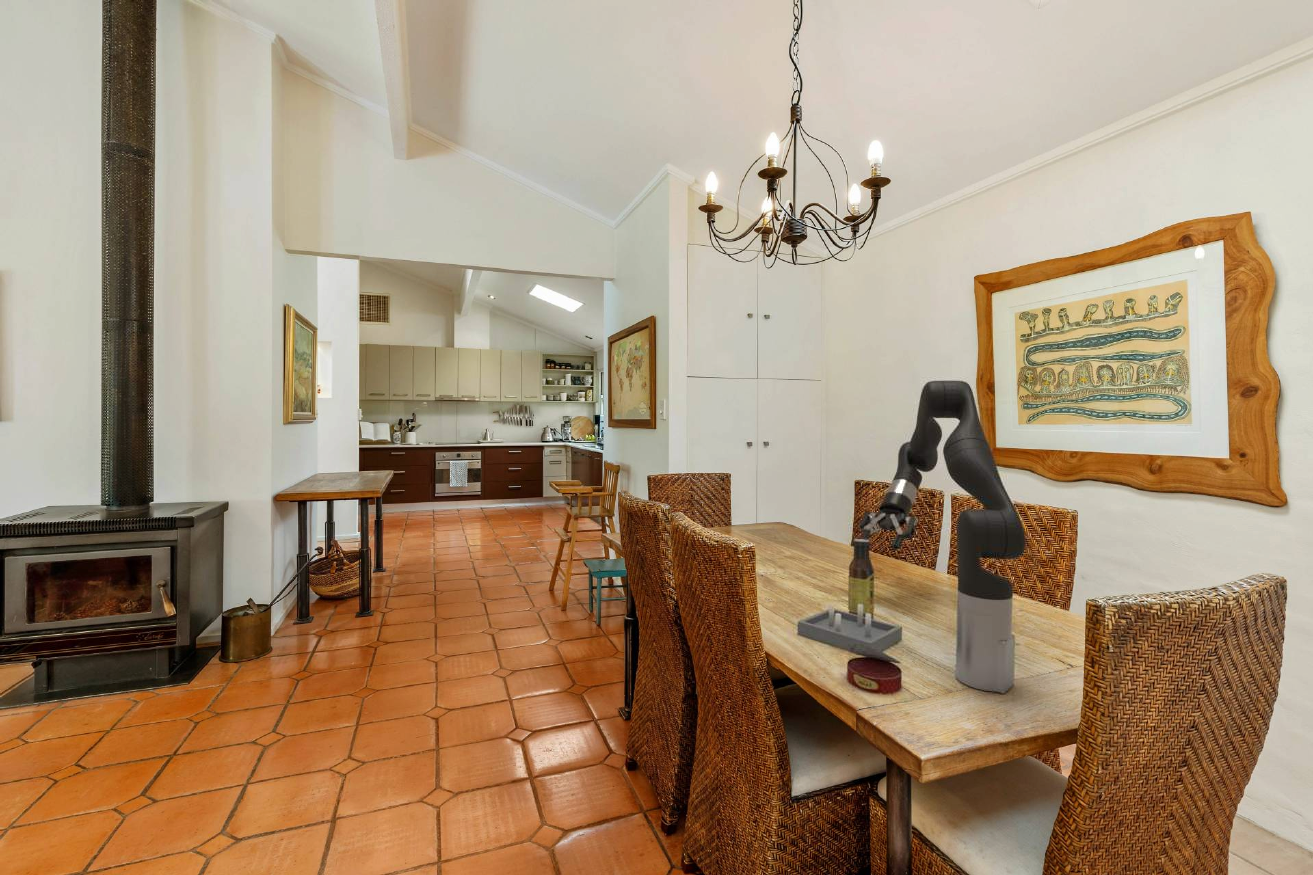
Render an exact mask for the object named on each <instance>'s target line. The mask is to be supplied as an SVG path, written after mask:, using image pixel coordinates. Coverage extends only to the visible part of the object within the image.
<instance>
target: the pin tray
mask: <svg viewBox="0 0 1313 875" xmlns="http://www.w3.org/2000/svg"><path fill="white" fill-rule="evenodd" d="M799 634H800V635H799ZM797 635H799V636H803V637H806V638H807V639H808V638H809V639H811V640H814V641H818V642H821V643H824V644H827V645H830V646H834V647H837V648H839V649H843V650H846V651H848V650H847V649H846V648H847V646H848V645H849V644H851V643H853V642H854V643H856V644H859V643H861V644H865V645H868V646H871V647H873V648H875V649H877V650H879V651H881V652H883V651H885V650H887V649H888V648H890V647H892V646H894V645H895V644H897V643H899V642H901V641H903V627H902V626H900V625H895V624H893V623H888V622H885V621H881V620H877V619H875V618H874V619H873V618H872V619H871V614H869V613H866V617H863V605H862V604H858V615H855V614H851V613H849V611H848V612H846V611H844V610H841V609H840V610H839V609H836V608H835V604H834V603H829V604H828V609H826V610H822V611H821V612H818V613H816V614H812V615H810V616H809V617H805V618H803V619H800V620H798V621H797Z"/></svg>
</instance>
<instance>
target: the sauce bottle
mask: <svg viewBox="0 0 1313 875" xmlns="http://www.w3.org/2000/svg"><path fill="white" fill-rule="evenodd" d="M852 540H853V541H852V542H853V544H852V546H853V559H852V560H851V562H850V563H849V566H848V569H849V570H848V593H847V594H848V595H847V596H848V601H847V602H848V603H847V605H848V608H847V610H848V613H851V614H855V615H858V604H862V605H863V617H866V613H869V614H871V619H873V618H874V613H875V570H874V567H873V564H872V561H871V557H870V546H871V542H870V539H869V540H865V539H860V538H855V539H852Z"/></svg>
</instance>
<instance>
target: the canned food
mask: <svg viewBox="0 0 1313 875" xmlns="http://www.w3.org/2000/svg"><path fill="white" fill-rule="evenodd" d="M846 649H847V650H846V651H847V652H850V654H855V655H858V656H859V657H854V658H851V659H849V660H848V661H847V664H846V665H847V667H846V669H847V670H846V680H847V682H848V683H849V685H851V684H852V685H851V686H853V687H854V686H855V688H856V687H857V688H856V689H858V688H859V690H861V691H864V692H868V693H872V694H878V693H879V694H880V693H882V694H880V695H888V694H889V693H891V694H894V693H895V694H896V693H897V691H898V692H899V691H900V690H901V689H902V682H903V681H902V677H903V676H902V675H903V670H902V669H901V667H900V666H899V665H897V664H901V661H899V660H897V659H896V658H894V657H893V656H890V655H888V654H886V653H885V652H883V651H879V650H877V649H875V648H873V647H871V646H868V645H865V644H861V643H859V644H856V643H854V642H853V643H851V644H849V645H848V646H847V648H846ZM879 694H878V695H879ZM889 695H890V694H889Z"/></svg>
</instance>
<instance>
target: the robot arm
mask: <svg viewBox="0 0 1313 875" xmlns="http://www.w3.org/2000/svg"><path fill="white" fill-rule="evenodd" d="M976 404H977V403H976V400H975V397H974V392H973V389H972V387H971V385H970V384H969V383H968V382H966V381H963V380H931V381H927V382H926V383H924V386H923V387H922V389H921V393H920V397H919V402H918V409H917V415H916V423H915V428H914V430H913V434H912V435H911V436H912V437H911V438H910V441H907V442H904V443H902V445H901V446H900V448H899V450H898V455H897V467H896V468H897V469H896V472H895V474H894V476H893V479H892V481H891V484H890V485H889V486H888V487H887V490H886V492H885V494H884V496H883V499H882V501H881V502H880V505H879V509H878V511H877V512H871V510H870V509H869V510H866V511H865V513H864V514H863V517H862V518H861V520H860V522H859V524H858V526H859V530H861V532H862V533H861V536H860V538H859V539H865V540H869V541H870V538H871V535H872V534H873V533H875V532H880V531H881V530H884V531H886V530H887V531H889V532H894V531H896V532H897V534H895V537H894V539H893V541H892V544H891V548H892V550H893V551H895V552H896V551H898V550H900V548H901V547H902V544H903V542H904V540H906V539H908V540H912V539H914V536H915V533H916V530H917V528H918V527H917V526H918V521H917V519H916V516H914V515H911V516H909V514H910V512H911V510H912V508H913V505H914V503H915V500H916V497H917V493H918V490H919V488H920V485H921V483H922V482H923V474H922V473H921V472H923V473H928V472H932V471H933V470H934V469H935V468H936V466H937V464H938V458H939V454H938V447H939V444H940V442H941V440H942V437H943V431H942V430H943V429H942V427H941V426H940V424H939V423H938V421H937V420H936V419H957V420H959V422H958V424H957V425H956V427H955V429H953V431H952V432H951V433H950V434H949V436H948V438H947V439H946V441H945V443H944V444H943V449H942V454H943V458H944V463H945V465H946V469H947V472H948V474H949V476H950V477H951V479H952V480H953V482H955V483H956V484H957V486H959V487H960V488H961V489H962V490H964V491H965V492H966V493H967V494H969V495H970V496H972V497H973V499H975V500H977V501H978V502H979V503H980V504H981V505H982V507H983V508H984V509H976V508H975V509H972V508H970V509H969V508H968V509H963V510H961V512H959V515H958V518H957V521H956V550H957V553H956V554H957V556H956V558H957V567H956V568H957V570H956V571H957V573H956V574H957V602H956V606H957V608H956V610H957V611H956V642H955V643H956V644H955V645H956V646H955V677H956V679H957V680H958V681H959V682H961V683H962V684H963V685H966V686H968V687H971V688H974V689H978V690H981V691H985V692H986V691H987V692H997V693H1000V694H1005V693H1006V692H1007V691H1008V690H1009V689H1011V687H1013V686H1014V684H1015V661H1016V660H1015V657H1016V655H1015V654H1016V653H1015V652H1016V650H1015V649H1016V635H1014V634H1013V633H1012V629H1013V602H1014V601H1013V595H1014V588H1013V587H1014V585H1013V583H1012V581H1010V580H1009V579H1007V578H1006V577H1004V576H1001V575H999V574H996V573H994V572H992V571H989V570H987V569H986V568H984V567H982V565H981V559H992V560H993V559H995V560H1014V559H1015V560H1016V559H1019V558H1020V557H1022V555H1023V554H1024V553H1025V550H1026V544H1027V541H1026V534H1025V533H1026V532H1025V529H1024V526H1023V523H1022V520H1021V518H1020V516H1019V513H1018V511H1017V509H1016V507H1015V506H1014V504H1013V502H1012V500H1011V498H1010V496H1009V494H1008V492H1007V490H1006V488H1005V485H1004V484H1003V481H1002V479H1001V475H1000V473H999V470H998V466H997V464H996V461H995V458H994V455H993V452H992V449H991V446H990V445H989V442H988V439H987V438H986V435H985V432H984V429H983V427H982V424H981V421H980V417H979V413H978V409H977V405H976ZM908 516H909V517H908ZM906 524H907V526H906V529H905V531H903V530H902V528H901V527H902V526H904V525H906Z"/></svg>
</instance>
